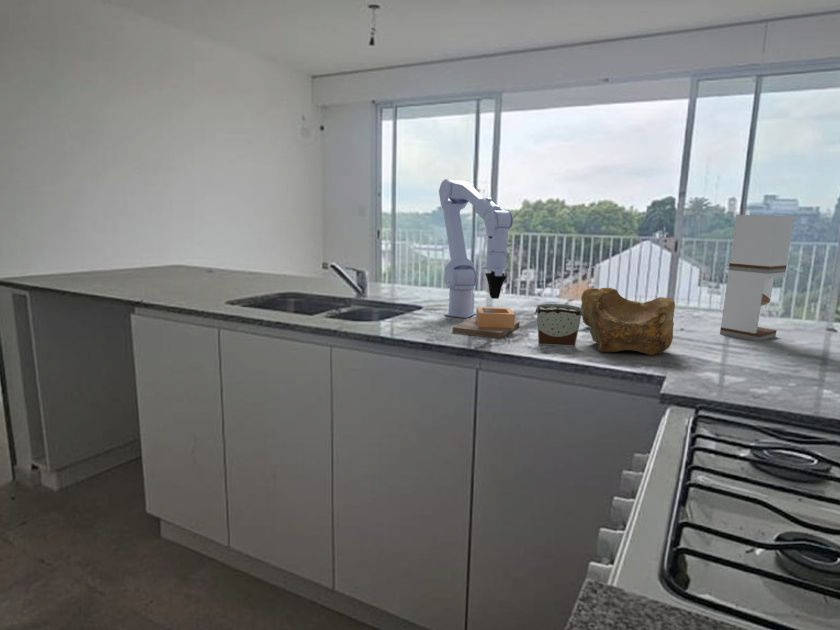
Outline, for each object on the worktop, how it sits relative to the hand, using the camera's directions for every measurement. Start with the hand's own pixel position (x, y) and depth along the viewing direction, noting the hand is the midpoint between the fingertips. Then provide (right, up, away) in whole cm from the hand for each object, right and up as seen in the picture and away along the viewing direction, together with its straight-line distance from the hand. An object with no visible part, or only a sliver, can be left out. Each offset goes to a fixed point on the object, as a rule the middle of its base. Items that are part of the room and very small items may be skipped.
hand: (494, 297), depth 159 cm
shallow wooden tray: (0, -8, -3) cm, 8 cm away
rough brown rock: (+29, -14, -23) cm, 39 cm away
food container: (+14, -13, -17) cm, 25 cm away
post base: (-3, -9, -3) cm, 10 cm away
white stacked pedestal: (+75, -11, 0) cm, 76 cm away
